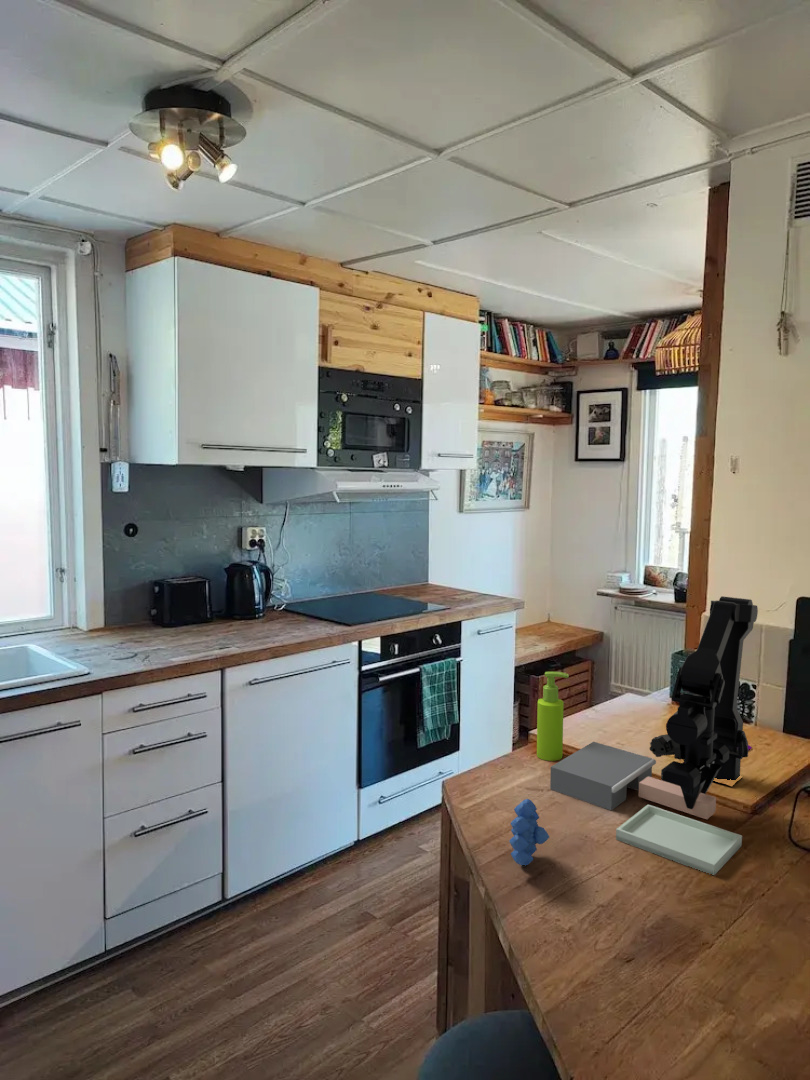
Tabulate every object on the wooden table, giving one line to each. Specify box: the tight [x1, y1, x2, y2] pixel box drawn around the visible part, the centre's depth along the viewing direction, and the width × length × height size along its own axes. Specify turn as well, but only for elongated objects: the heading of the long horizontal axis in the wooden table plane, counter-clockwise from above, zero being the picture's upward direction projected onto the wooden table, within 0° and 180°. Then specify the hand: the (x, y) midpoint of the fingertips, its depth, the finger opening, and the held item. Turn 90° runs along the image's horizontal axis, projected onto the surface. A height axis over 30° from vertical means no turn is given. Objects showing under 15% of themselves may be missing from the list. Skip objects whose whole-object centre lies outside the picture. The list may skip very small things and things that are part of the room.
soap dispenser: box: [536, 671, 570, 762], centre depth 180 cm, size 6×7×20 cm
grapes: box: [508, 798, 550, 867], centre depth 134 cm, size 12×7×12 cm, turn 159°
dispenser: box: [549, 741, 657, 811], centre depth 165 cm, size 15×18×5 cm
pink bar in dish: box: [638, 776, 717, 820], centre depth 155 cm, size 14×4×3 cm, turn 47°
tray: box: [615, 804, 743, 876], centre depth 142 cm, size 18×13×2 cm
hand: (694, 804), depth 152 cm, fingers closed on pink bar in dish, 4 cm apart
